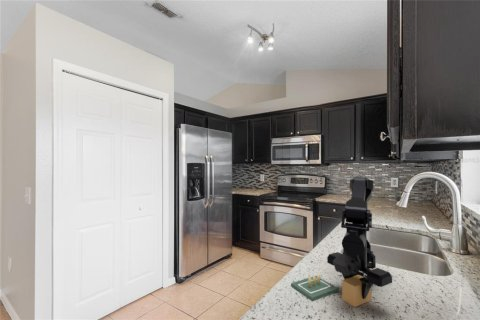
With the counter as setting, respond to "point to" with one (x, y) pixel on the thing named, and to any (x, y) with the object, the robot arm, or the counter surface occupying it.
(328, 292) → the board
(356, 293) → the block
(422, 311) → the counter surface
